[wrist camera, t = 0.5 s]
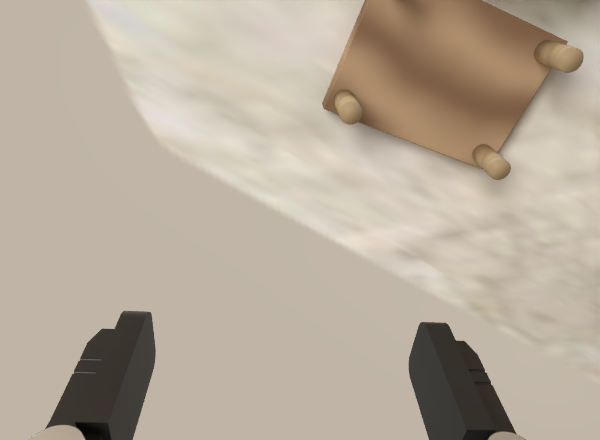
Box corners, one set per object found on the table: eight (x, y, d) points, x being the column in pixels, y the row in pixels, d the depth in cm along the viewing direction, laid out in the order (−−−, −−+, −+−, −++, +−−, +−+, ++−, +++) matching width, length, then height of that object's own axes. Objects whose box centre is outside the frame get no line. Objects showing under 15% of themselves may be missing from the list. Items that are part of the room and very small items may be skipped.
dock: (383, -44, 31) (400, -45, 27) (556, 38, 35) (597, 49, 30) (322, 103, 36) (328, 123, 32) (479, 163, 40) (504, 188, 35)
